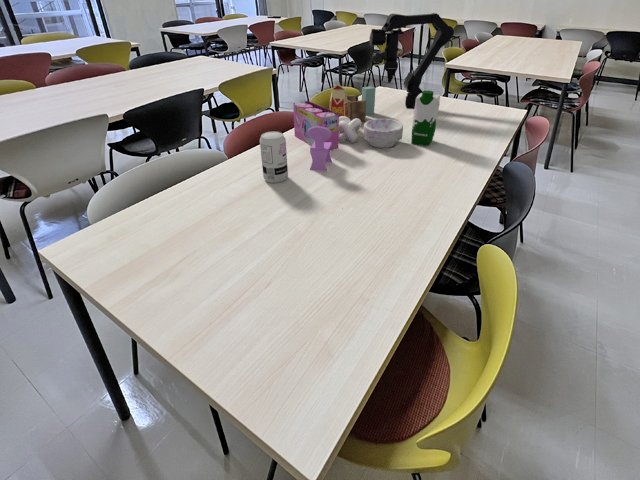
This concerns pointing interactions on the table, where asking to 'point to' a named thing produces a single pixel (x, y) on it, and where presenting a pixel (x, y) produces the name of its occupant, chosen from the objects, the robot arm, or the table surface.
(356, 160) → the table surface
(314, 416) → the table surface
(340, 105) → the milk carton
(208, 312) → the table surface
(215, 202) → the table surface
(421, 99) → the soya milk
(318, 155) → the toy chair
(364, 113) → the cabinet carcass
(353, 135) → the white knot sculpture
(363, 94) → the teal rectangular block
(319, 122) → the gum box
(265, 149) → the supplement can
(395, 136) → the marble bowl
